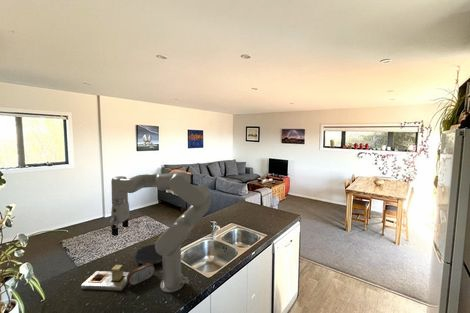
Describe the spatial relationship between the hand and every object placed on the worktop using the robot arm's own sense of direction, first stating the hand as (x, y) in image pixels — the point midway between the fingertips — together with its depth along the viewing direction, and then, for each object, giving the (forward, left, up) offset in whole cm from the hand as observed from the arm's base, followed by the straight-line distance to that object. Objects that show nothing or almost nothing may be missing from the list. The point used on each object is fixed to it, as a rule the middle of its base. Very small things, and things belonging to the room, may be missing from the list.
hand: (120, 231), depth 119 cm
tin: (-10, -2, -30) cm, 32 cm away
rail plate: (+8, 0, -30) cm, 31 cm away
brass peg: (+3, 0, -30) cm, 30 cm away
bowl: (-7, -23, -30) cm, 38 cm away
